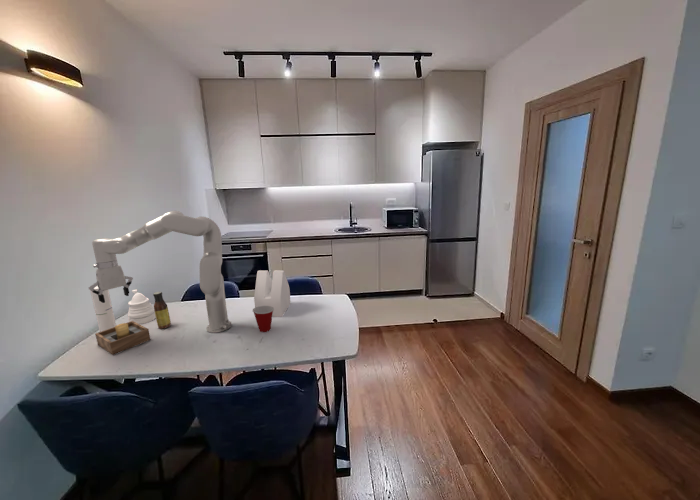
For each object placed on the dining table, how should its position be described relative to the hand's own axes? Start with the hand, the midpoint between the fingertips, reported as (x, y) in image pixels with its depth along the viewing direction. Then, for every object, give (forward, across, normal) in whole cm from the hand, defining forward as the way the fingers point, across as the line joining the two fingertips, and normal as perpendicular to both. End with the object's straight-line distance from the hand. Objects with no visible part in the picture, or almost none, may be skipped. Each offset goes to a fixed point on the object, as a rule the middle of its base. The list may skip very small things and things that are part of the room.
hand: (115, 298), depth 144 cm
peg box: (+23, 0, 0) cm, 23 cm away
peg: (+22, 0, 0) cm, 22 cm away
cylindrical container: (+23, +1, +23) cm, 33 cm away
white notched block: (+24, +65, -37) cm, 78 cm away
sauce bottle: (+23, +19, 0) cm, 30 cm away
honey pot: (+23, +17, +21) cm, 36 cm away
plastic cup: (+24, +45, -52) cm, 73 cm away
